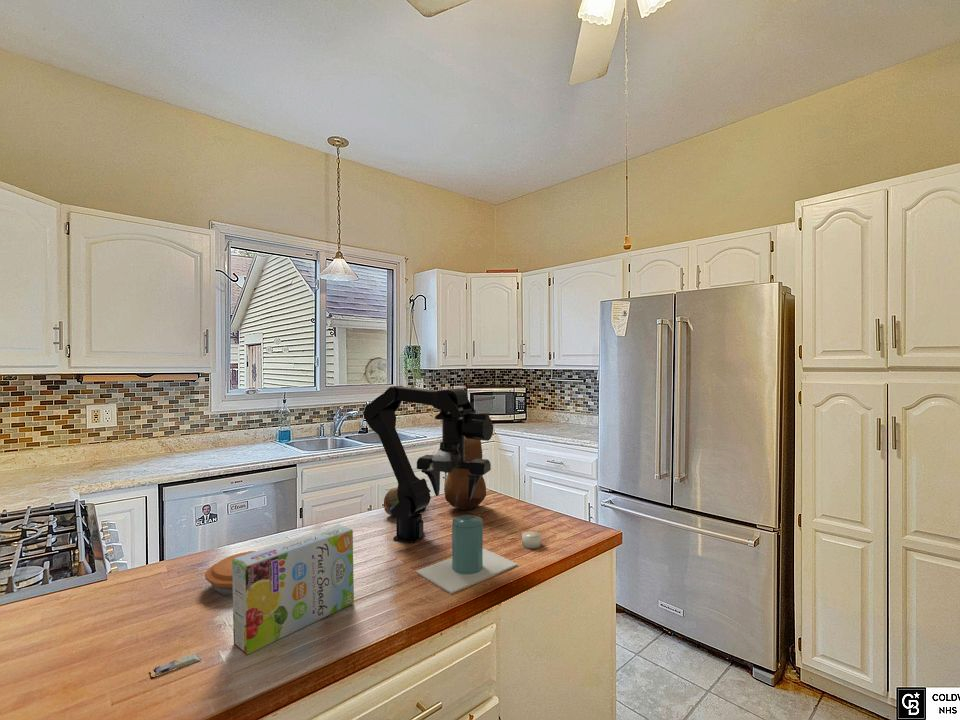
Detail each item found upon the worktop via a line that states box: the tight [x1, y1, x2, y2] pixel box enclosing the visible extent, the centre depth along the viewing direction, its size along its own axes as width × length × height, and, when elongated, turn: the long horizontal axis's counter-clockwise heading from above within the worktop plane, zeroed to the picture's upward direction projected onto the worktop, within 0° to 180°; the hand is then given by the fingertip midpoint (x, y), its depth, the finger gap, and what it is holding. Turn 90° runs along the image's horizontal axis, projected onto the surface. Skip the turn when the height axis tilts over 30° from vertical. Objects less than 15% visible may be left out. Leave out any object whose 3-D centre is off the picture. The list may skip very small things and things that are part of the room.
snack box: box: [232, 524, 355, 655], centre depth 87 cm, size 21×6×15 cm, turn 141°
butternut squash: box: [443, 436, 487, 511], centre depth 152 cm, size 14×13×25 cm
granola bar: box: [152, 653, 201, 676], centre depth 74 cm, size 7×2×1 cm, turn 132°
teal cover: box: [451, 514, 484, 574], centre depth 109 cm, size 7×7×11 cm
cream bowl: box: [521, 531, 542, 549], centre depth 123 cm, size 5×5×3 cm
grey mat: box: [415, 547, 519, 595], centre depth 109 cm, size 20×13×1 cm, turn 132°
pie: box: [204, 550, 256, 597], centre depth 102 cm, size 15×16×5 cm
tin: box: [383, 486, 399, 516], centre depth 149 cm, size 15×3×8 cm, turn 143°
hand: (453, 497), depth 121 cm, fingers open, 9 cm apart
